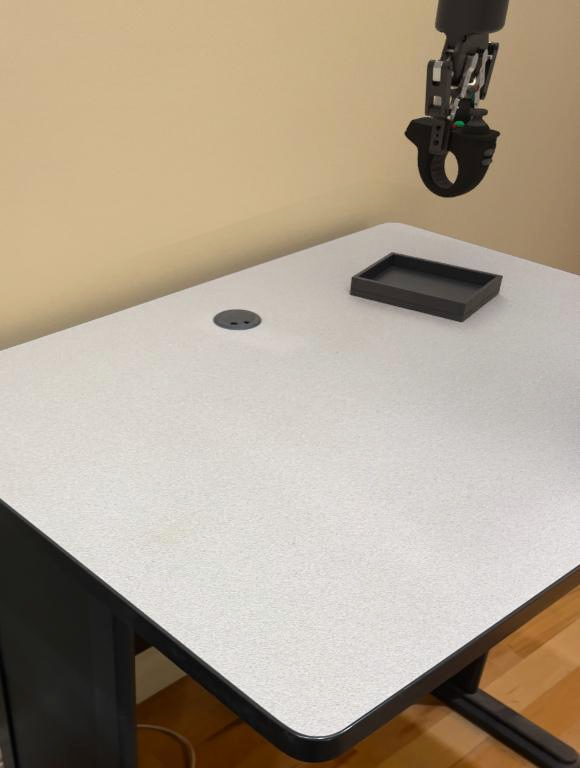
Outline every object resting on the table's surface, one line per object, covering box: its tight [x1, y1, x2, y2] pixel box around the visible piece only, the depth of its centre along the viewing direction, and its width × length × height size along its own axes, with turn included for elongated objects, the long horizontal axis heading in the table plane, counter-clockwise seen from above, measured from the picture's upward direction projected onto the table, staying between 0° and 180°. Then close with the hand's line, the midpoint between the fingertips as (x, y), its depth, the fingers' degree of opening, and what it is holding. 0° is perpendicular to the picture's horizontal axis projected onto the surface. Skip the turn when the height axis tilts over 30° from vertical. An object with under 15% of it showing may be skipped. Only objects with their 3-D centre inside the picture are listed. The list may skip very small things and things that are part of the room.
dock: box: [349, 251, 504, 323], centre depth 120 cm, size 16×11×2 cm
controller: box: [404, 107, 501, 199], centre depth 109 cm, size 4×12×10 cm, turn 33°
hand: (448, 147), depth 109 cm, fingers closed on controller, 5 cm apart
